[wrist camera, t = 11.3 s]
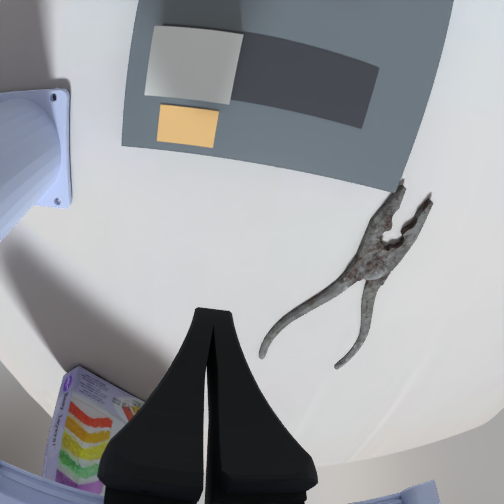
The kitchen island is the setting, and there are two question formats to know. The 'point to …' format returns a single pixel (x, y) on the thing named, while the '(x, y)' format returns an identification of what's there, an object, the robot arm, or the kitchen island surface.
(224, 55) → the tab
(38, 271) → the kitchen island surface
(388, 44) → the panel
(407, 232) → the pliers
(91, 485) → the cake pan box
